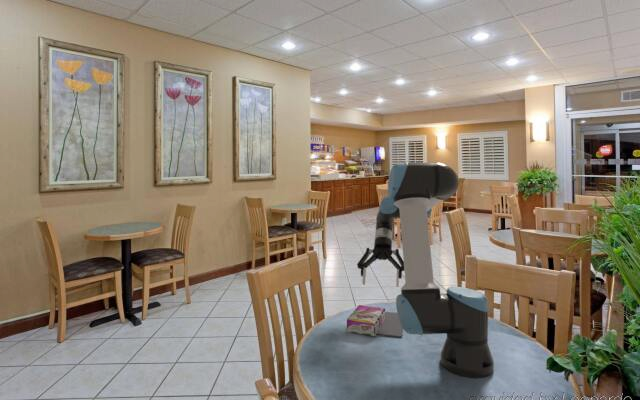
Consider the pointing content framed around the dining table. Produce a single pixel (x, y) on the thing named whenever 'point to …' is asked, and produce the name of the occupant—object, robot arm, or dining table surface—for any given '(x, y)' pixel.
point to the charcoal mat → (391, 326)
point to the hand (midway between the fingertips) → (380, 284)
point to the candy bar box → (366, 320)
